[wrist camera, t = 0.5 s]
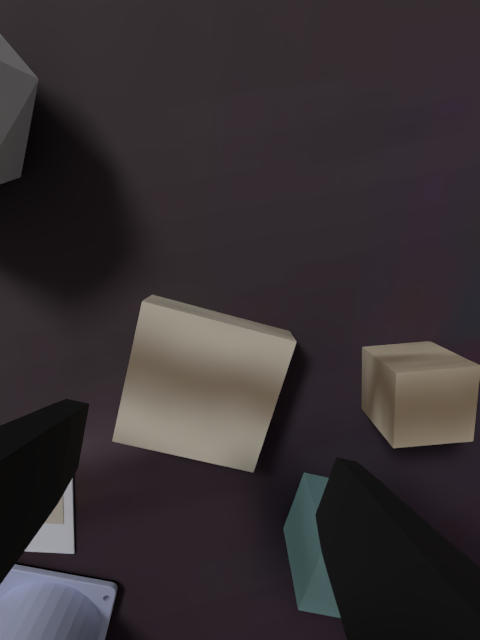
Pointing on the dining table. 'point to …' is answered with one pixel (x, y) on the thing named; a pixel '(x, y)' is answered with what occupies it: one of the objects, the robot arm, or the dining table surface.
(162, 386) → the birch slab
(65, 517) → the blueprint card
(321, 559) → the teal cube
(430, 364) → the block
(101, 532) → the dining table surface
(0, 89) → the die
